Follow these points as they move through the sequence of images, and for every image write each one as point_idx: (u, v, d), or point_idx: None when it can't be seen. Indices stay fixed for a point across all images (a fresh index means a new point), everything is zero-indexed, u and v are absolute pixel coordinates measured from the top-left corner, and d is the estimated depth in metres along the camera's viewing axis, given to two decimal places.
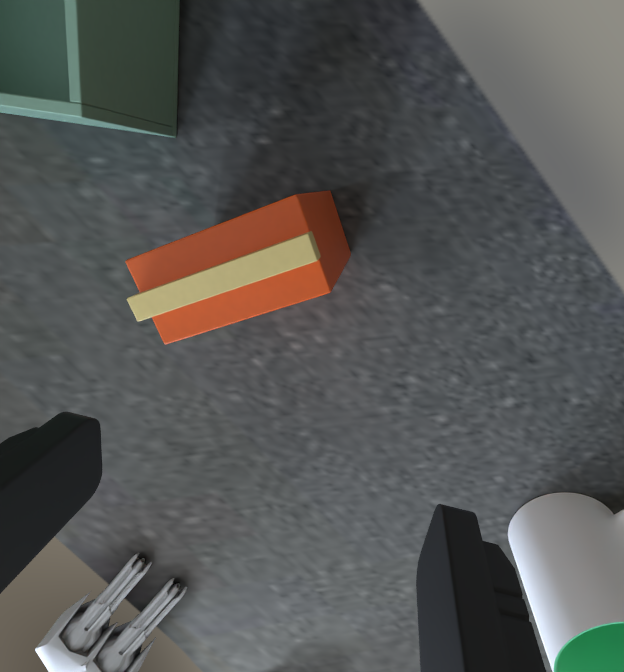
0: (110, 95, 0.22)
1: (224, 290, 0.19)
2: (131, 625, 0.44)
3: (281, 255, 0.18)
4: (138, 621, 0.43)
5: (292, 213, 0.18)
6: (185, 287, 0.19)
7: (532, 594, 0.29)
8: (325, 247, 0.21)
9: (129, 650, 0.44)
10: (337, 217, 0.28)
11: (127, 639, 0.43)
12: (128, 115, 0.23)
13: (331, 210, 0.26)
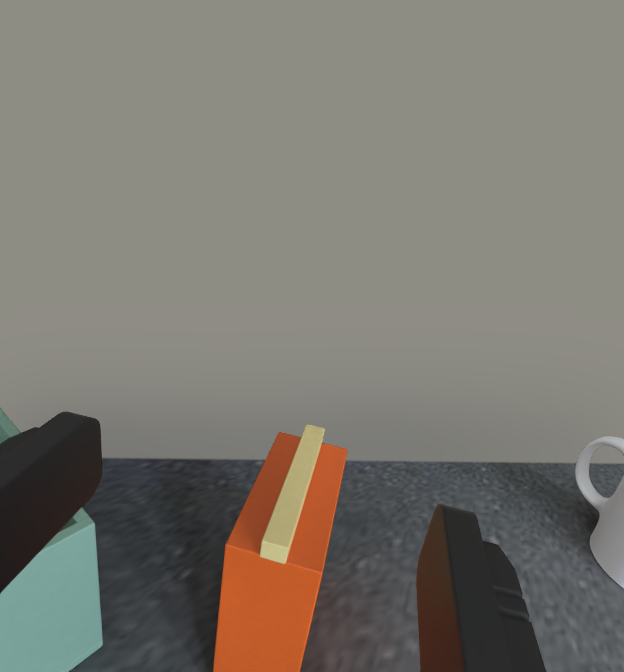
0: None
1: (309, 475, 0.23)
2: None
3: (309, 438, 0.26)
4: None
5: (287, 438, 0.27)
6: (288, 493, 0.21)
7: None
8: None
9: None
10: None
11: None
12: None
13: None
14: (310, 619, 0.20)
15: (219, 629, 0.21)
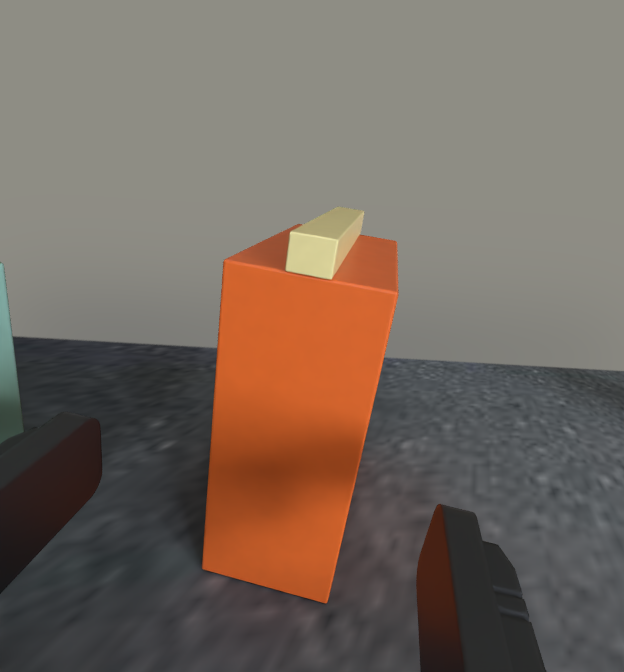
0: None
1: (353, 220, 0.14)
2: None
3: (345, 210, 0.17)
4: None
5: None
6: (326, 221, 0.13)
7: None
8: None
9: None
10: None
11: None
12: None
13: None
14: (371, 402, 0.12)
15: (214, 449, 0.13)
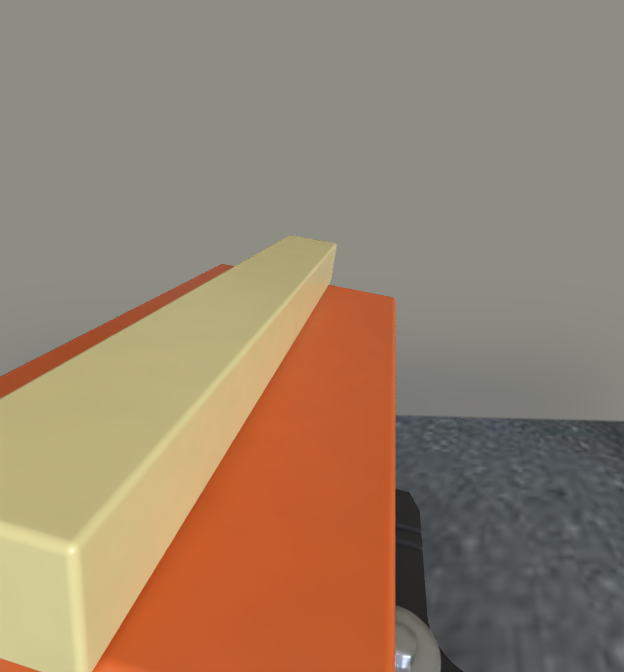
0: None
1: (293, 287, 0.06)
2: None
3: (296, 246, 0.09)
4: None
5: None
6: (200, 309, 0.05)
7: None
8: None
9: None
10: None
11: None
12: None
13: None
14: None
15: None
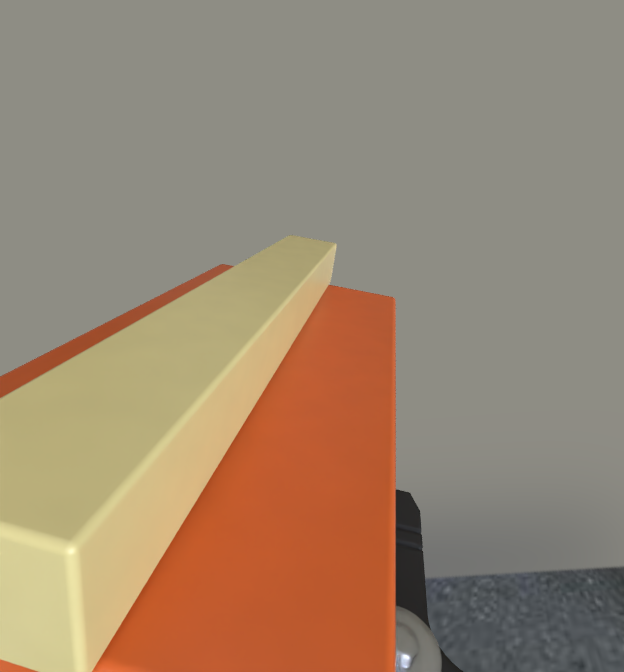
0: None
1: (293, 287, 0.06)
2: None
3: (296, 246, 0.09)
4: None
5: None
6: (200, 309, 0.05)
7: None
8: None
9: None
10: None
11: None
12: None
13: None
14: None
15: None
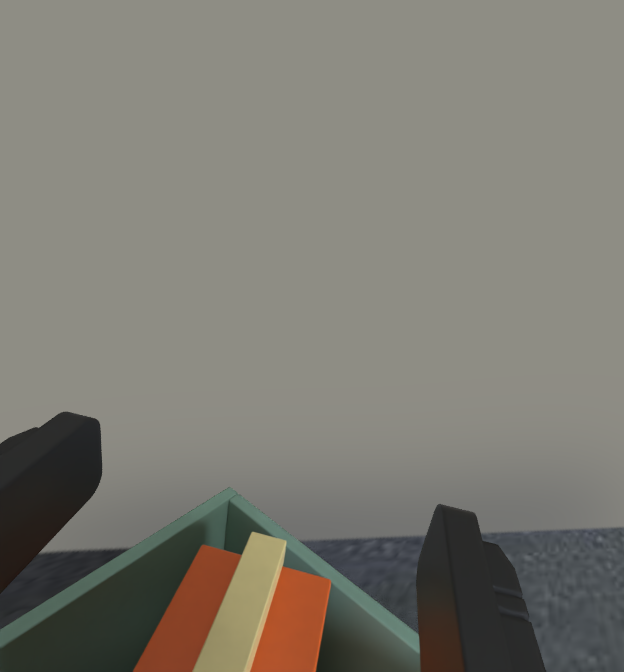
0: None
1: None
2: None
3: (252, 570, 0.13)
4: None
5: (215, 559, 0.14)
6: None
7: None
8: None
9: None
10: None
11: None
12: None
13: None
14: None
15: None
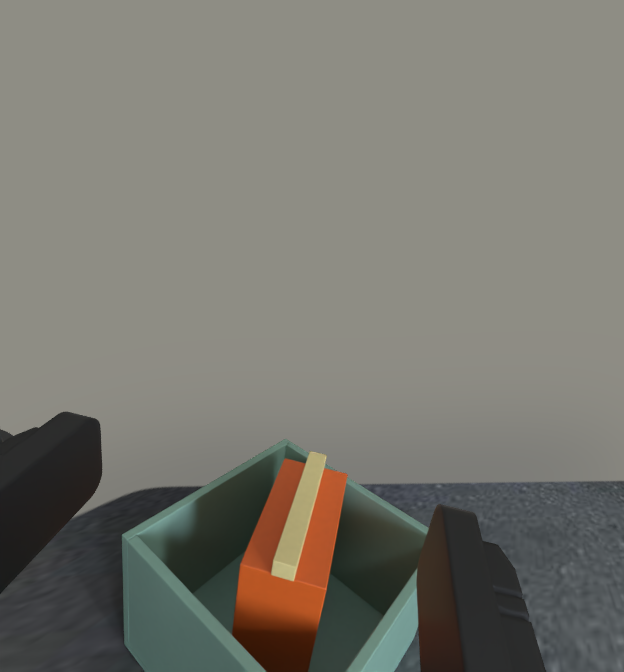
0: None
1: (313, 499, 0.25)
2: None
3: (313, 464, 0.28)
4: None
5: (292, 464, 0.29)
6: (295, 517, 0.24)
7: None
8: None
9: None
10: None
11: None
12: None
13: None
14: (316, 631, 0.22)
15: None
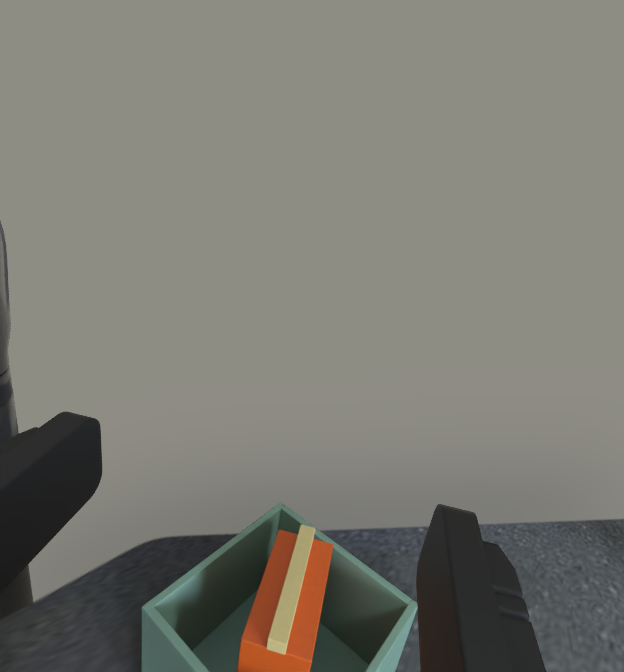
0: None
1: (302, 575, 0.30)
2: None
3: (303, 539, 0.33)
4: None
5: (286, 535, 0.34)
6: (287, 594, 0.28)
7: None
8: None
9: None
10: None
11: None
12: None
13: None
14: None
15: None
